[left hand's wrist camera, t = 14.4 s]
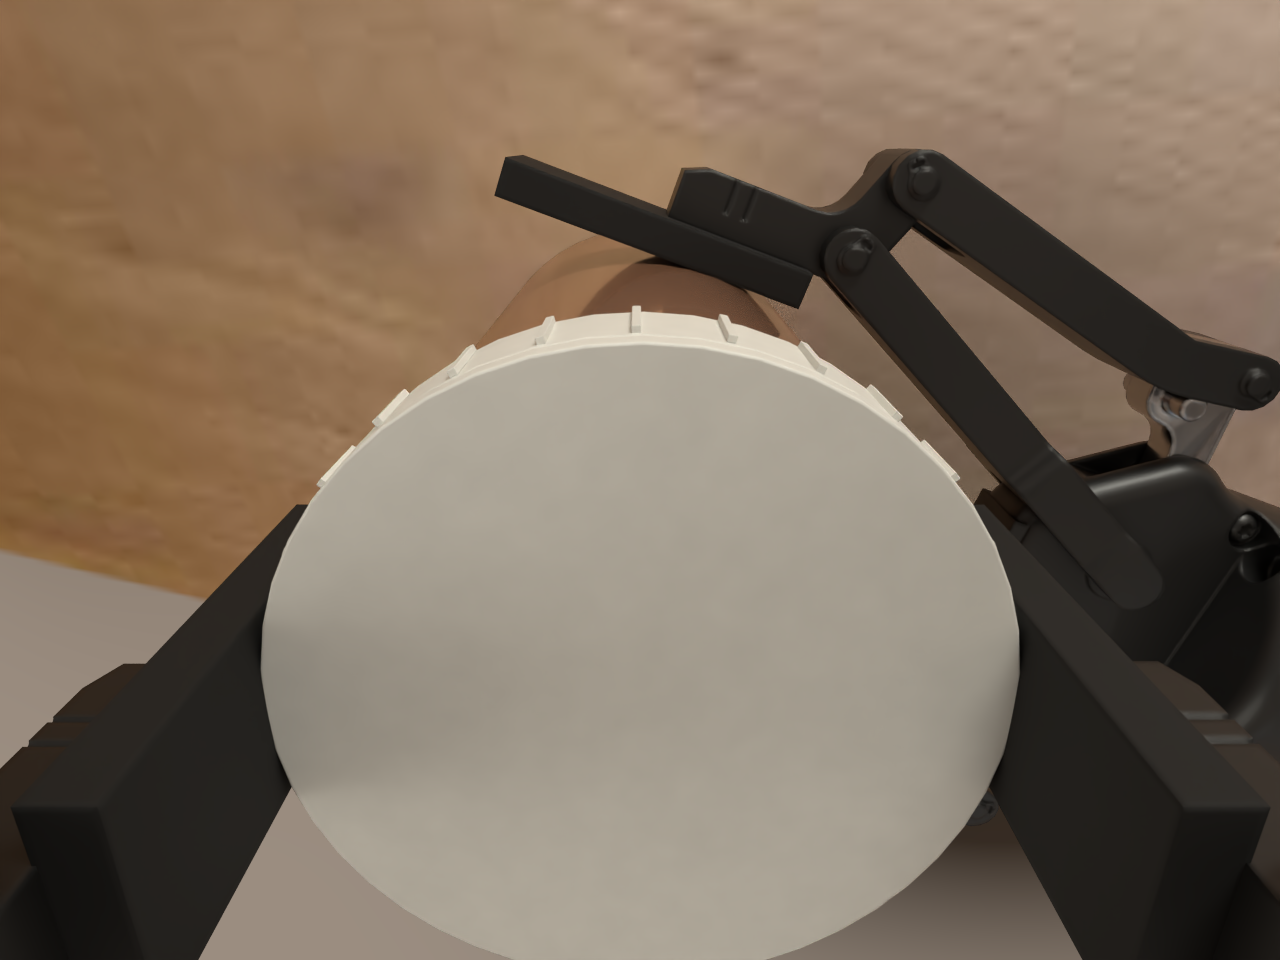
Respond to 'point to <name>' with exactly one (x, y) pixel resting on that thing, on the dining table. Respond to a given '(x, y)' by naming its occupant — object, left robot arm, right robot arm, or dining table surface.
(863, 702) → the lid
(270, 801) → the left robot arm
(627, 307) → the jar
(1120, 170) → the dining table surface
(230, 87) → the dining table surface
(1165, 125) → the dining table surface
